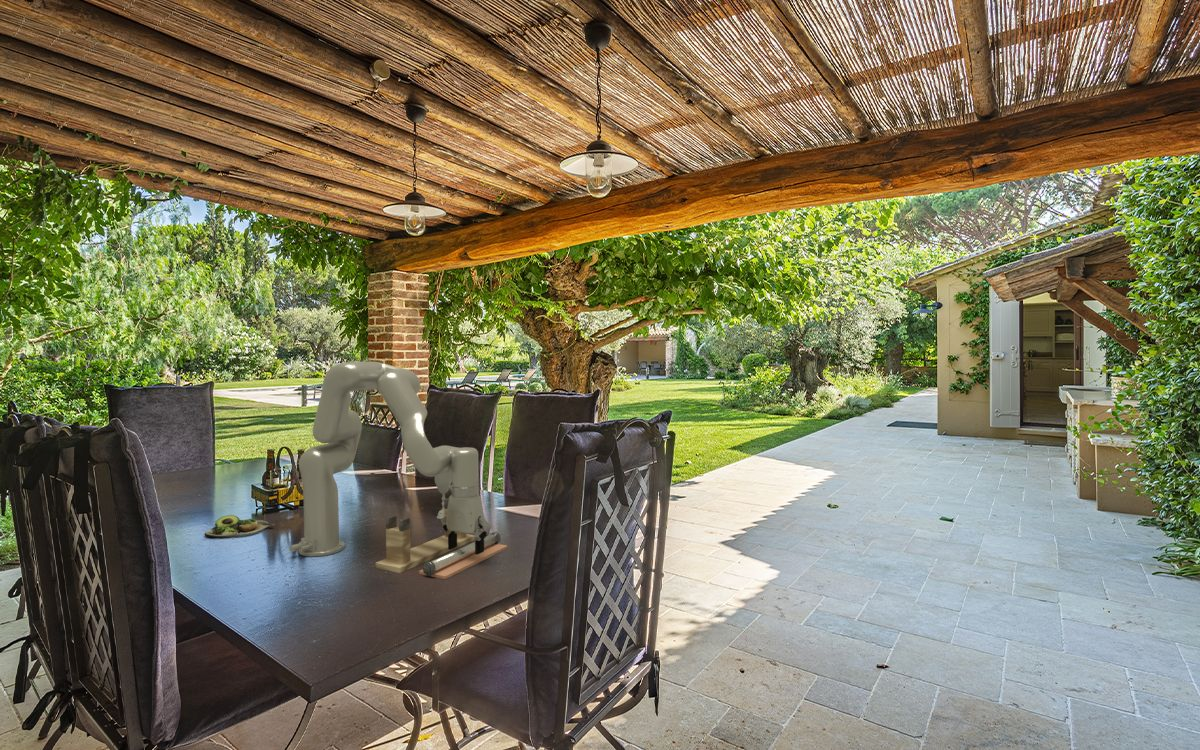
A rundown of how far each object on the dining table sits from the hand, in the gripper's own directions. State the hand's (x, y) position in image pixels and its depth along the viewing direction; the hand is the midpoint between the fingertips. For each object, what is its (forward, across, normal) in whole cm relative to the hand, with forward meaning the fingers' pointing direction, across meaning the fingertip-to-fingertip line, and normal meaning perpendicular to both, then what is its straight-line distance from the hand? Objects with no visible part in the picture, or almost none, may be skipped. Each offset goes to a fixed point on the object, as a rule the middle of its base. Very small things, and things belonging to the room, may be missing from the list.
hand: (466, 550), depth 173 cm
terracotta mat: (+3, 0, 0) cm, 3 cm away
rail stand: (+3, -14, 0) cm, 14 cm away
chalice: (+3, -37, +33) cm, 50 cm away
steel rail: (+1, 0, 0) cm, 1 cm away
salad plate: (+3, -88, -11) cm, 89 cm away
